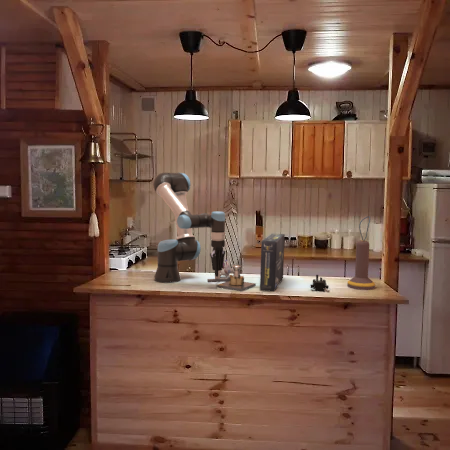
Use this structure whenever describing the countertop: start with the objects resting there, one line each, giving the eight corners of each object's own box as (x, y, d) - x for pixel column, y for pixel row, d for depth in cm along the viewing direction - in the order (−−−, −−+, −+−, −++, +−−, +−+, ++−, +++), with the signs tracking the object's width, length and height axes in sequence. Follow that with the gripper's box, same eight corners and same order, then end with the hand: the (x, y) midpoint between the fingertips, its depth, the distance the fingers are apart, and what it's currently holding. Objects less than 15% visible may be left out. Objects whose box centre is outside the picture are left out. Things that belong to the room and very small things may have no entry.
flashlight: (350, 216, 264) (350, 215, 278) (347, 288, 267) (347, 283, 282) (379, 217, 260) (377, 215, 274) (375, 290, 264) (374, 285, 278)
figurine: (232, 279, 301) (228, 281, 286) (218, 276, 303) (214, 277, 288) (236, 262, 301) (233, 262, 287) (223, 258, 303) (219, 258, 288)
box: (275, 292, 257) (277, 240, 254) (259, 290, 259) (260, 240, 256) (284, 279, 291) (285, 233, 288) (269, 278, 293) (270, 233, 290)
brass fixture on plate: (216, 287, 265) (216, 266, 264) (231, 282, 279) (231, 262, 277) (241, 291, 257) (242, 269, 256) (255, 286, 270) (256, 265, 269)
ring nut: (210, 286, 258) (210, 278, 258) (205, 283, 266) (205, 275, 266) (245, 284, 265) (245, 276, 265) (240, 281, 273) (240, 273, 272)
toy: (310, 282, 290) (310, 291, 260) (311, 274, 290) (310, 282, 260) (327, 282, 288) (328, 292, 259) (327, 274, 288) (328, 283, 258)
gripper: (217, 241, 257) (217, 284, 259) (229, 238, 268) (229, 280, 270) (205, 240, 261) (205, 283, 263) (218, 237, 272) (217, 278, 274)
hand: (217, 281), depth 267 cm, fingers closed
